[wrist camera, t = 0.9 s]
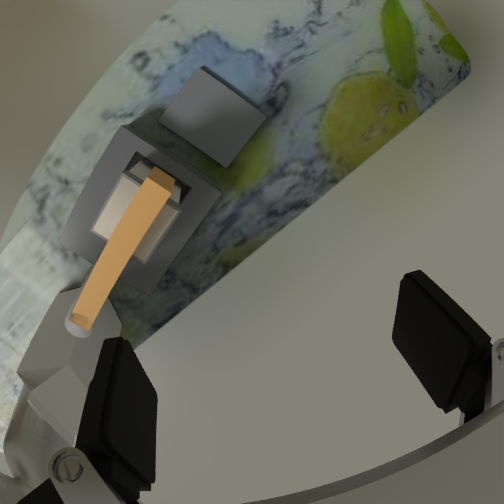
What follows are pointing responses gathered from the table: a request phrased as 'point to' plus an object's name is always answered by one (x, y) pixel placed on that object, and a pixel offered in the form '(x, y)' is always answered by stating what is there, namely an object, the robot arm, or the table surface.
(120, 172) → the socket
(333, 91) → the table surface
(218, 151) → the mat
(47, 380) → the milk carton
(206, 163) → the table surface
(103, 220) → the plug
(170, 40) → the table surface
